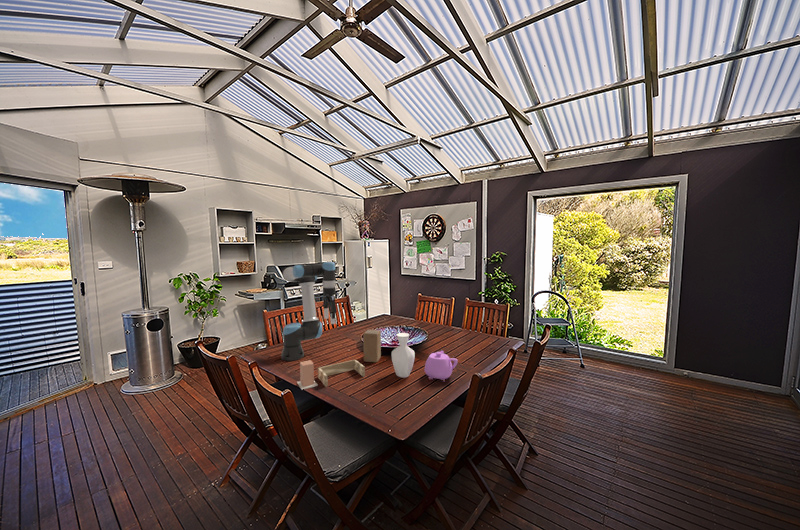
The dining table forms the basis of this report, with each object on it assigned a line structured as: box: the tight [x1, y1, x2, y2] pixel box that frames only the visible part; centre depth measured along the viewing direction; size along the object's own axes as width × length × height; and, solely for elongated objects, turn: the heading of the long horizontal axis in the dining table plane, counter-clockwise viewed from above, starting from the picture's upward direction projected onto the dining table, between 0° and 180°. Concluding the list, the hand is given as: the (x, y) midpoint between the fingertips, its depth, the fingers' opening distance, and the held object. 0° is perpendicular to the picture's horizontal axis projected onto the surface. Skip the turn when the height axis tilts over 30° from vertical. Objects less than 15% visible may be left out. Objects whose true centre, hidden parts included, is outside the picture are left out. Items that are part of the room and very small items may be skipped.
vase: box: [391, 332, 416, 378], centre depth 183 cm, size 14×14×25 cm
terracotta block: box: [299, 359, 315, 387], centre depth 171 cm, size 6×6×12 cm
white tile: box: [296, 380, 319, 391], centre depth 171 cm, size 10×9×1 cm
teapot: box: [424, 350, 458, 381], centre depth 182 cm, size 20×20×15 cm
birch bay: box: [317, 358, 366, 388], centre depth 180 cm, size 14×24×6 cm, turn 123°
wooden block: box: [362, 328, 382, 363], centre depth 206 cm, size 10×10×20 cm
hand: (329, 321), depth 186 cm, fingers open, 13 cm apart
